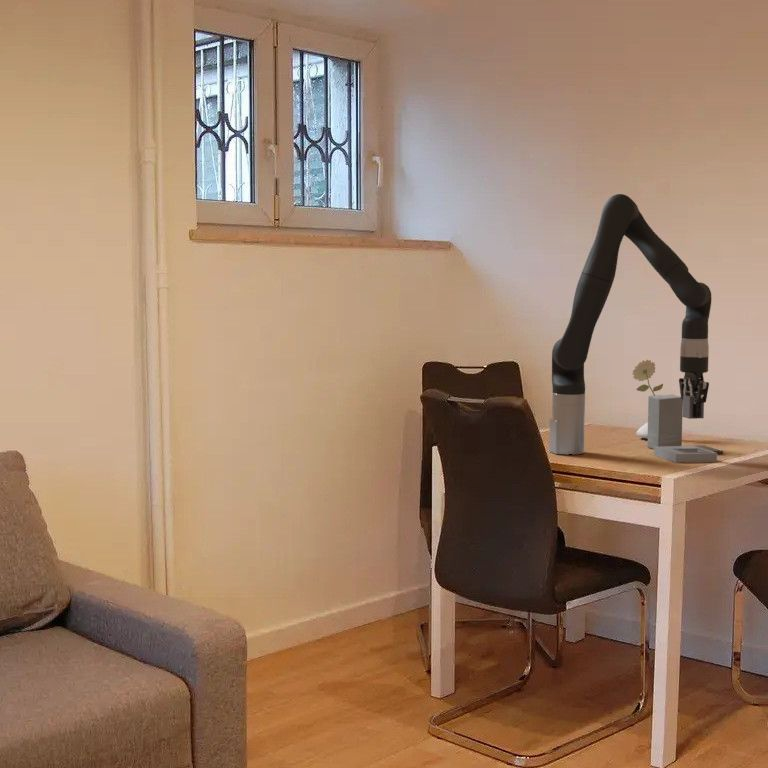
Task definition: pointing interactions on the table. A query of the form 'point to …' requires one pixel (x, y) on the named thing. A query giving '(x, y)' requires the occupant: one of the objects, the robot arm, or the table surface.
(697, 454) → the outlet plate
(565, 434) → the robot arm
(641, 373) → the flower in vase
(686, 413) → the block
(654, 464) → the table surface
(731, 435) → the table surface
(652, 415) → the skincare box
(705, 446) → the phone
